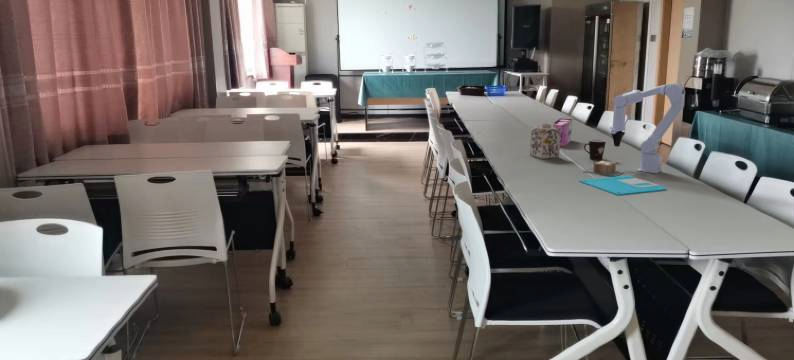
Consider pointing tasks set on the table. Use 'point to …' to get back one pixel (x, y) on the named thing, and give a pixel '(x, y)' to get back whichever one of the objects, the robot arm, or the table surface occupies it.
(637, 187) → the diskette
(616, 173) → the slate mat
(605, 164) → the cardboard box
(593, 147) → the coffee mug
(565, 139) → the gum box
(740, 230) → the table surface
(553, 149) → the decorative jar
